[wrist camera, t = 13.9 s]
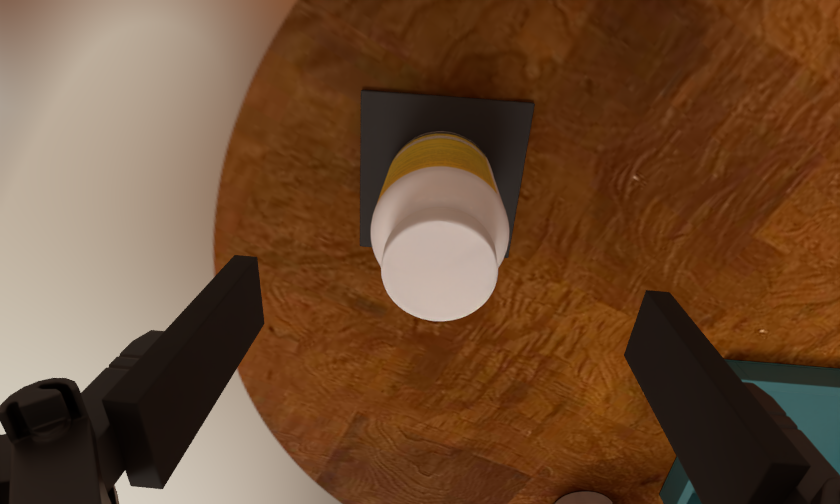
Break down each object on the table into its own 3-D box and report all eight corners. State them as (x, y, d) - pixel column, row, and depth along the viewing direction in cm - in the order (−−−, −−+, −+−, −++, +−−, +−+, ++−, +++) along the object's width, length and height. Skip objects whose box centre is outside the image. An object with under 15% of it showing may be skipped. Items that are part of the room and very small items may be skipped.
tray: (933, 376, 34) (963, 397, 32) (832, 508, 41) (852, 533, 39) (722, 359, 34) (739, 379, 32) (659, 494, 41) (670, 518, 39)
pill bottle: (382, 133, 27) (344, 201, 17) (491, 124, 27) (521, 188, 16) (395, 232, 30) (369, 343, 20) (493, 225, 29) (521, 335, 19)
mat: (533, 102, 26) (534, 103, 26) (507, 255, 31) (508, 258, 30) (361, 89, 26) (360, 90, 26) (360, 243, 31) (359, 246, 31)
